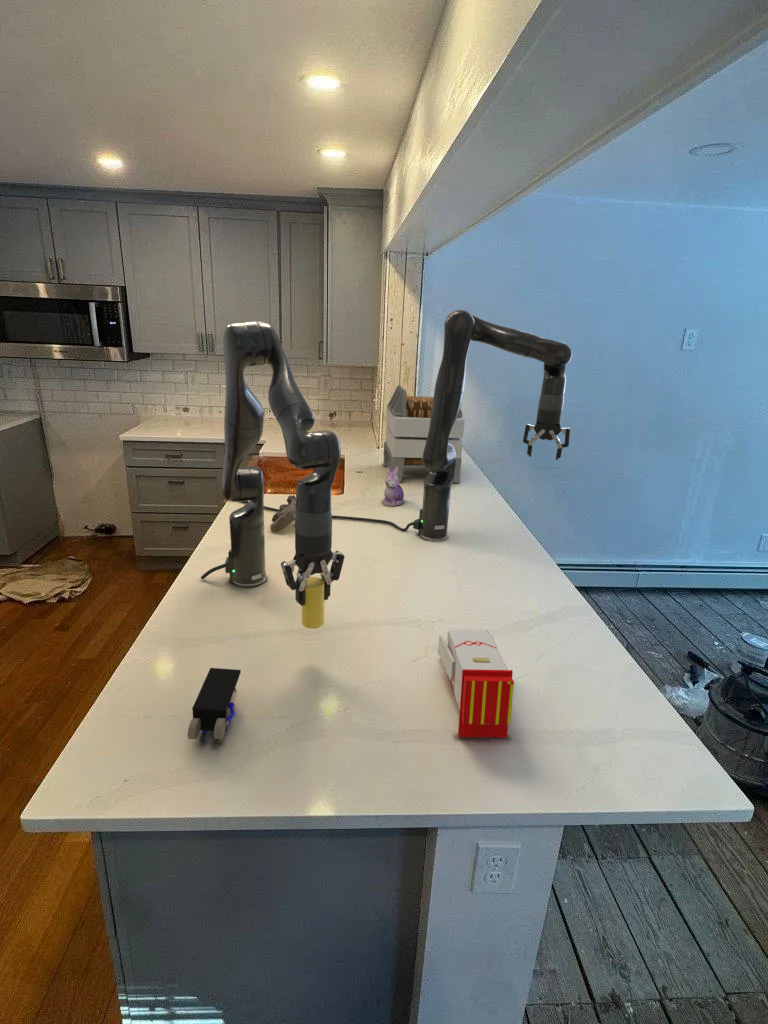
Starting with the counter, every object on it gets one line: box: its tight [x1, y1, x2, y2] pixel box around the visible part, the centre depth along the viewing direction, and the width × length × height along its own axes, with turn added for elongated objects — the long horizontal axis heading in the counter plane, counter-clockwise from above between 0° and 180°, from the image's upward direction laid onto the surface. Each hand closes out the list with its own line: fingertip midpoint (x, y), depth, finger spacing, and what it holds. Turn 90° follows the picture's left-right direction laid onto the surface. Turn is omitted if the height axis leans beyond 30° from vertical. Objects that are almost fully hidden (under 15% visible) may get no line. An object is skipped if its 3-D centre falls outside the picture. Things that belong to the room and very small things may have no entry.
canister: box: [301, 576, 325, 630], centre depth 122 cm, size 5×5×10 cm
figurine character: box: [187, 667, 241, 744], centre depth 105 cm, size 7×8×15 cm
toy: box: [437, 628, 515, 738], centre depth 117 cm, size 12×13×30 cm
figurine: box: [383, 466, 405, 507], centre depth 229 cm, size 9×10×15 cm
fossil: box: [270, 494, 296, 533], centre depth 203 cm, size 22×10×15 cm
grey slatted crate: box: [383, 384, 465, 484], centre depth 268 cm, size 34×33×41 cm
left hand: (313, 600), depth 122 cm, fingers closed on canister, 5 cm apart
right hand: (543, 457), depth 185 cm, fingers open, 8 cm apart
